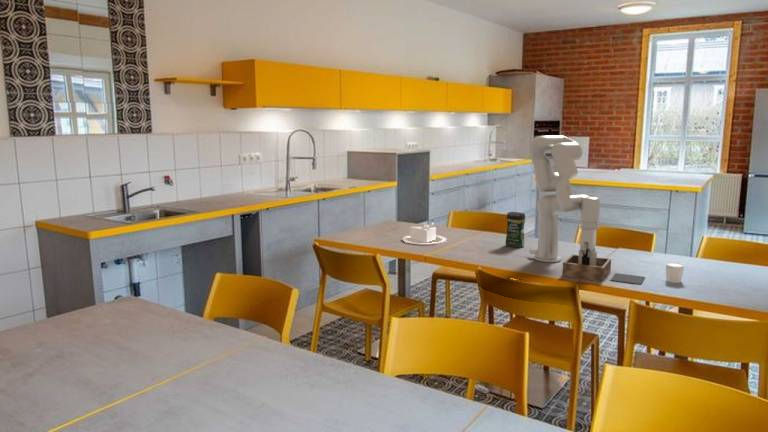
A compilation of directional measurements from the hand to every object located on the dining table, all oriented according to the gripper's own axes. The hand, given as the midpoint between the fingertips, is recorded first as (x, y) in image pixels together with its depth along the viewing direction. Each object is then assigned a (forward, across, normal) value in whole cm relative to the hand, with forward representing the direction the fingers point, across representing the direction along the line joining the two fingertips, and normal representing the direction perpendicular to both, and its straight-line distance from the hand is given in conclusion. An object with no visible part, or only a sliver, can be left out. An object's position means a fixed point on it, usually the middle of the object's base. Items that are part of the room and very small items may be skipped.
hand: (587, 263), depth 251 cm
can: (+5, 0, 0) cm, 5 cm away
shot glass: (+6, -7, +34) cm, 35 cm away
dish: (+4, -26, -94) cm, 98 cm away
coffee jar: (+4, -37, -46) cm, 59 cm away
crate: (+5, 0, 0) cm, 5 cm away
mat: (+5, 0, +16) cm, 17 cm away
